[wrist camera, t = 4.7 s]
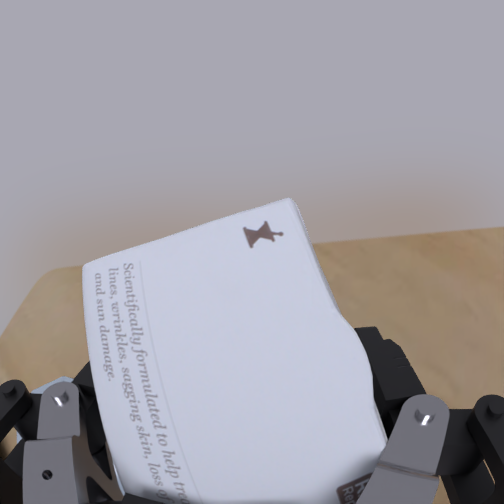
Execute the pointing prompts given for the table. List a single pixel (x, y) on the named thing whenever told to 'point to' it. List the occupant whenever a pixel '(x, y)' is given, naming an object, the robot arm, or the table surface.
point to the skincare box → (230, 367)
